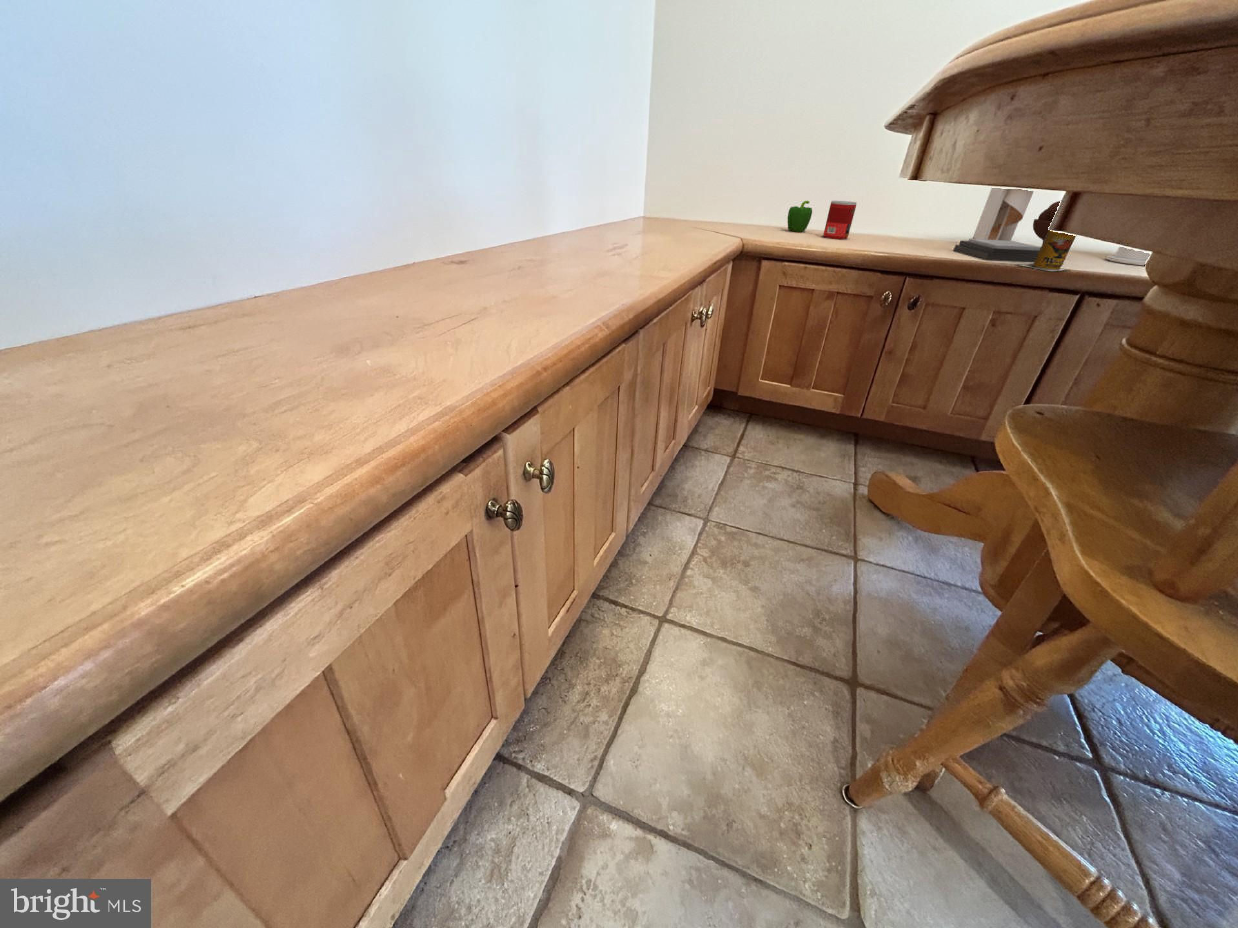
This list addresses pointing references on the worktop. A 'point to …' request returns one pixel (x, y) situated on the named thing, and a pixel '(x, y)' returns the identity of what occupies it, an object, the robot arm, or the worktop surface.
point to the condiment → (1053, 251)
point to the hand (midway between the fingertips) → (1064, 154)
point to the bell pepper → (799, 217)
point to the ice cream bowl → (1044, 221)
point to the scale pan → (1004, 244)
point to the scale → (996, 252)
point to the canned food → (839, 219)
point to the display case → (1002, 213)
